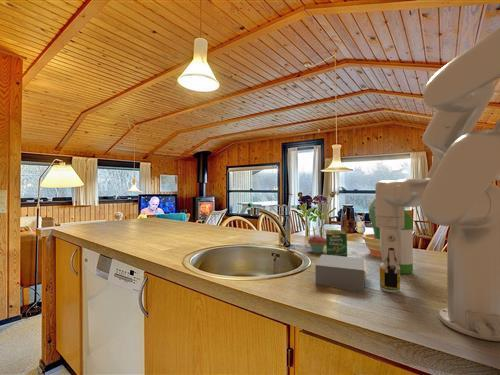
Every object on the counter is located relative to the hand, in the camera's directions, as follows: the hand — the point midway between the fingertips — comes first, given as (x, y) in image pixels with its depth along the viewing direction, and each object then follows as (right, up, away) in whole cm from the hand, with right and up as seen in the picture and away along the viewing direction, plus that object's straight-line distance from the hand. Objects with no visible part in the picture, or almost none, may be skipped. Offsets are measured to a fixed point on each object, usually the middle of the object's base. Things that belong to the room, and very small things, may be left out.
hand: (389, 282), depth 78 cm
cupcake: (-10, -2, +46) cm, 47 cm away
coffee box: (-7, -2, +28) cm, 29 cm away
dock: (-12, -2, +8) cm, 14 cm away
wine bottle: (+12, -2, +16) cm, 21 cm away
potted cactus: (+17, -2, +40) cm, 44 cm away
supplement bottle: (0, -2, 0) cm, 2 cm away
